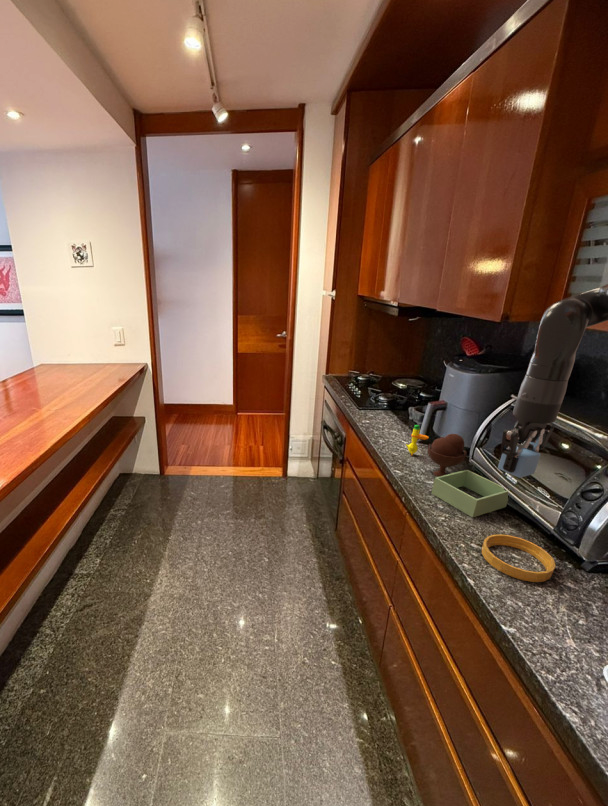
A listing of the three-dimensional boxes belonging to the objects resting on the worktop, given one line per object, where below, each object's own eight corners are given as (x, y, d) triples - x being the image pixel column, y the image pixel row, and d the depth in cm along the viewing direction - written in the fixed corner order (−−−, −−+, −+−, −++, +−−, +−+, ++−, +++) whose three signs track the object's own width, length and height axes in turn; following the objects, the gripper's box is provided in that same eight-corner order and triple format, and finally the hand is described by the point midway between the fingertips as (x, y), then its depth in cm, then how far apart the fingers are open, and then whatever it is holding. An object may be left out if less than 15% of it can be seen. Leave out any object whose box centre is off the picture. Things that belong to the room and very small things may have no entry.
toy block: (511, 464, 92) (517, 445, 90) (534, 473, 87) (541, 454, 85) (497, 468, 90) (503, 448, 88) (519, 478, 85) (526, 457, 84)
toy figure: (424, 457, 138) (431, 426, 133) (423, 461, 135) (429, 429, 130) (404, 453, 141) (410, 422, 137) (402, 456, 138) (408, 425, 134)
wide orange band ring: (505, 539, 95) (508, 529, 94) (564, 574, 84) (569, 563, 83) (467, 552, 91) (471, 542, 90) (525, 591, 80) (529, 580, 79)
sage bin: (462, 486, 119) (467, 469, 117) (505, 509, 107) (511, 490, 105) (430, 495, 114) (434, 477, 112) (471, 519, 103) (477, 500, 101)
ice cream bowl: (446, 467, 130) (456, 426, 125) (467, 484, 120) (479, 440, 114) (415, 468, 130) (424, 427, 124) (434, 485, 120) (445, 441, 114)
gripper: (537, 407, 76) (512, 482, 83) (580, 398, 81) (554, 470, 88) (499, 396, 82) (479, 467, 89) (541, 389, 87) (519, 456, 94)
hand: (516, 468), depth 88 cm, fingers closed on toy block, 5 cm apart
